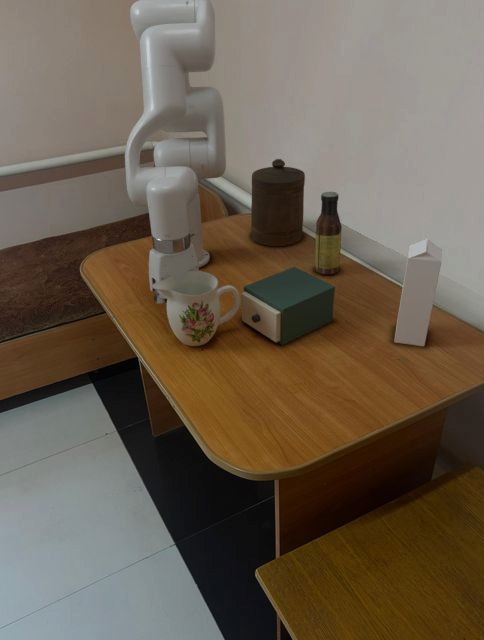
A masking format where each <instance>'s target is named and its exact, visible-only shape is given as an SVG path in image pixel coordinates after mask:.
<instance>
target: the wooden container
mask: <svg viewBox="0 0 484 640" xmlns="http://www.w3.org/2000/svg"><path fill="white" fill-rule="evenodd" d="M285 165H286V162H285V161H284V160H283V159H282V158H275V160H274V159H273V161H272V162H271V166H267V167H263V168H259V169H257V170H255V171H253V172H252V174H251V209H250V211H251V212H250V213H251V214H250V215H251V216H250V217H251V220H250V221H251V222H250V223H251V239H252V240H253V241H254V242H256V243H258V244H259V245H263V246H268V247H285V246H291V245H294V244H296V243H299V242H300V241H301V240H302V238H303V231H304V229H303V228H304V209H305V208H304V207H305V206H304V202H305V201H304V199H305V184H306V183H305V182H306V174H305V172H304V171H303V170H302V169H299V168H296V167H291V166H285Z"/></svg>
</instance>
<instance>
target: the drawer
mask: <svg viewBox="0 0 484 640" xmlns="http://www.w3.org/2000/svg"><path fill="white" fill-rule="evenodd" d="M240 304H241V321H242V322H244V323H245V324H247V325H248V326H250V327H251V328H253V329H254V330H256V331H257V332H259V333H260V334H262V335H264V336H265V337H267V338H268V339H269V340H271V341H272V342H274V343H278V341H280V328H281V311H279V310H277V309H276V308H274V307H272V306H271V305H269V304H267V303H265V302H264V301H262V300H260V299H259V298H257V297H255V296H253V295H251V294H249V293H247V292H244V291H243V292H241V293H240Z"/></svg>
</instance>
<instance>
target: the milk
mask: <svg viewBox="0 0 484 640" xmlns="http://www.w3.org/2000/svg"><path fill="white" fill-rule="evenodd" d="M442 252H443V249H442V247H440V246H438V245H437V244H436V243H434V242H433V241H431V240H430V239H429V231H427V235H426V239H423V240H420V241H418V242H415V243H413V244H411V245H409V246H408V252H407V259H406V264H405V269H404V270H405V271H404V275H403V282H402V288H401V295H400V301H399V305H398V306H399V307H398V313H397V319H396V320H397V321H396V326H395V331H394V332H395V333H394V340H393V342H394V343H396V344H403V345H409V346H416V347H417V346H418V347H425V345H426V340H427V335H428V331H429V327H430V326H429V325H430V321H431V316H432V311H433V306H434V300H435V296H436V293H437V292H436V291H437V286H438V281H439V277H440V276H439V275H440V273H441V268H442V259H443V257H442V256H443V255H442V254H443V253H442Z"/></svg>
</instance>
